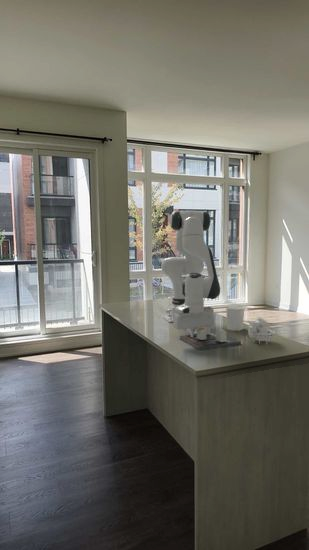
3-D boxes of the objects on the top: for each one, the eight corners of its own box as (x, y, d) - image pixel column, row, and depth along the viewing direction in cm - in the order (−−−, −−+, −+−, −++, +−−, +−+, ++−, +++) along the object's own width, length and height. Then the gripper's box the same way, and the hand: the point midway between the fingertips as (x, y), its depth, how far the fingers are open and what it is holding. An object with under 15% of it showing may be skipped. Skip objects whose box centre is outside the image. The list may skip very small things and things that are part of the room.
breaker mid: (196, 337, 170) (196, 327, 169) (201, 337, 171) (202, 326, 170) (200, 339, 166) (200, 329, 165) (206, 339, 167) (206, 328, 166)
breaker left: (200, 333, 178) (200, 323, 178) (206, 332, 180) (206, 322, 179) (205, 334, 175) (205, 325, 174) (210, 334, 176) (210, 324, 175)
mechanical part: (272, 347, 161) (272, 321, 160) (245, 343, 166) (246, 318, 165) (276, 341, 170) (277, 316, 169) (251, 337, 176) (252, 314, 175)
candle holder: (230, 331, 189) (230, 309, 188) (223, 327, 199) (223, 306, 198) (247, 330, 191) (247, 308, 190) (239, 326, 200) (239, 305, 199)
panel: (179, 338, 175) (179, 335, 175) (217, 334, 184) (217, 331, 183) (199, 350, 157) (199, 346, 157) (241, 344, 165) (241, 340, 165)
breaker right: (216, 340, 166) (216, 329, 165) (221, 339, 167) (221, 328, 166) (220, 342, 162) (220, 331, 161) (226, 341, 163) (226, 330, 163)
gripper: (209, 305, 172) (209, 333, 174) (171, 308, 165) (171, 337, 166) (216, 307, 167) (216, 336, 168) (177, 310, 159) (177, 340, 160)
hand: (194, 336), depth 167 cm, fingers closed
